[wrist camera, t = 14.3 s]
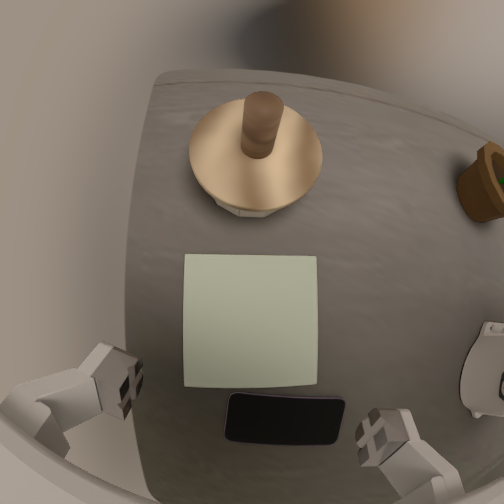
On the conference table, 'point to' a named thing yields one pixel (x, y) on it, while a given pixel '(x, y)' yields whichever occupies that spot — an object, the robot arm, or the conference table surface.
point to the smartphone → (283, 419)
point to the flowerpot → (484, 185)
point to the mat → (250, 321)
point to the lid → (255, 154)
